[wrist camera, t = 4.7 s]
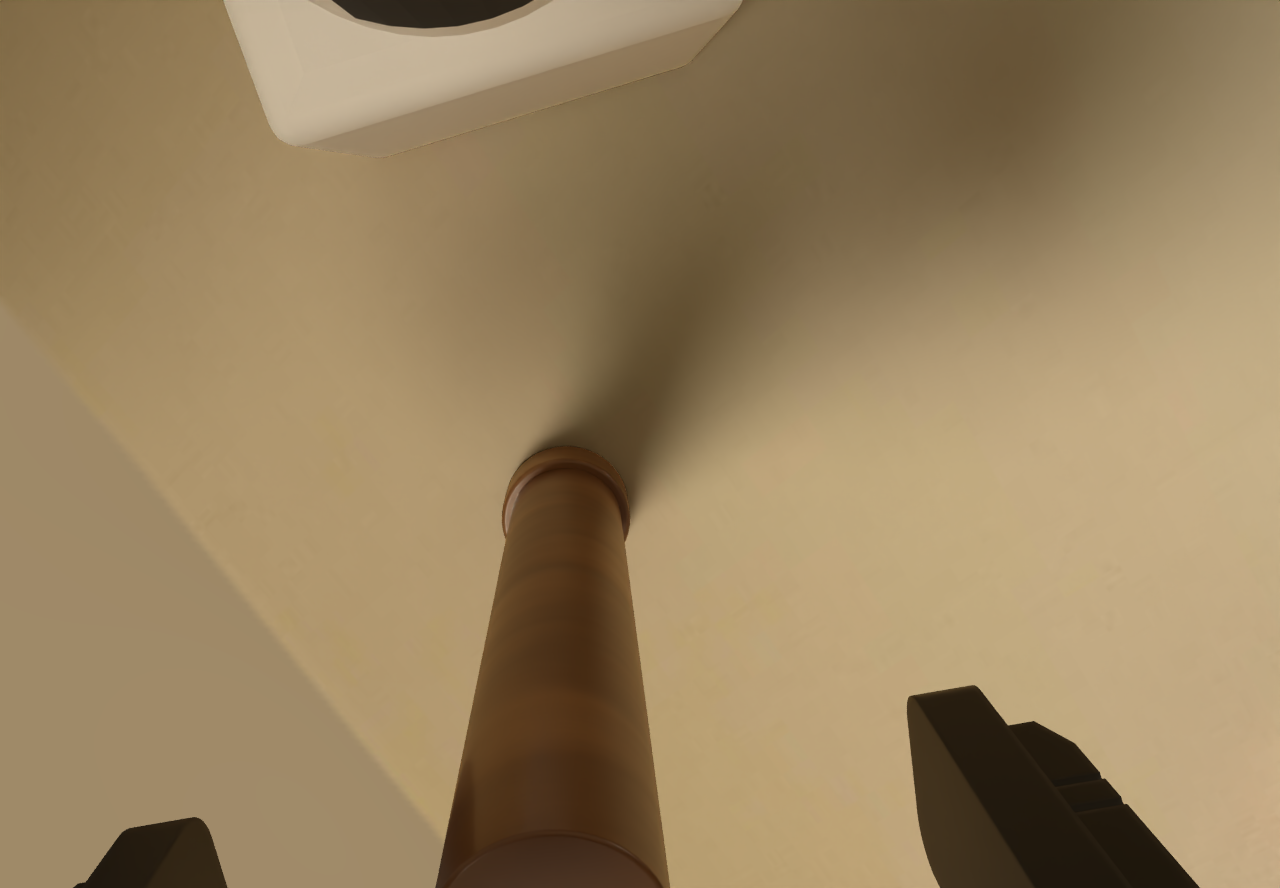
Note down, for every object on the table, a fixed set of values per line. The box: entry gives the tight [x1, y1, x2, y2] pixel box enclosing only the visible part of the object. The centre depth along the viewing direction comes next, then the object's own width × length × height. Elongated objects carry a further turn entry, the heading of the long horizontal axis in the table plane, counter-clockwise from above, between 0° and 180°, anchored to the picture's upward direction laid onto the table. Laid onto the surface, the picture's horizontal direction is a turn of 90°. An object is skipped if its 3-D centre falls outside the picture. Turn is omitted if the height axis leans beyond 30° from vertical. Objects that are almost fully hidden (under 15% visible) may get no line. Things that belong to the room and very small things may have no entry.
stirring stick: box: [436, 446, 670, 888], centre depth 17 cm, size 3×3×14 cm
